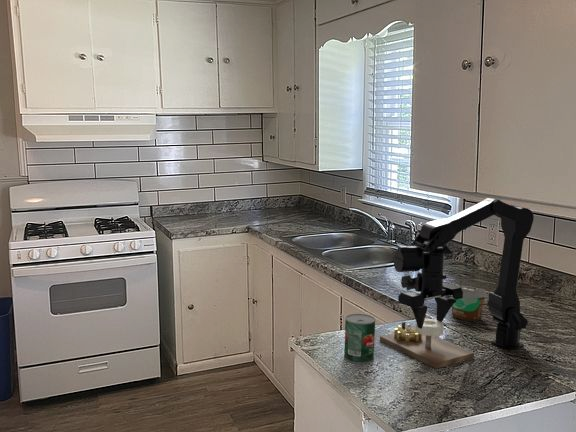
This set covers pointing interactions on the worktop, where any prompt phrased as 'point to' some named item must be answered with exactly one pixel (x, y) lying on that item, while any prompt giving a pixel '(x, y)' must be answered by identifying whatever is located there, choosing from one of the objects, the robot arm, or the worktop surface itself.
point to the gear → (407, 333)
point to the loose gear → (431, 327)
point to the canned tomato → (359, 338)
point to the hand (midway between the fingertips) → (429, 326)
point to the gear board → (430, 350)
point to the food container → (469, 305)
